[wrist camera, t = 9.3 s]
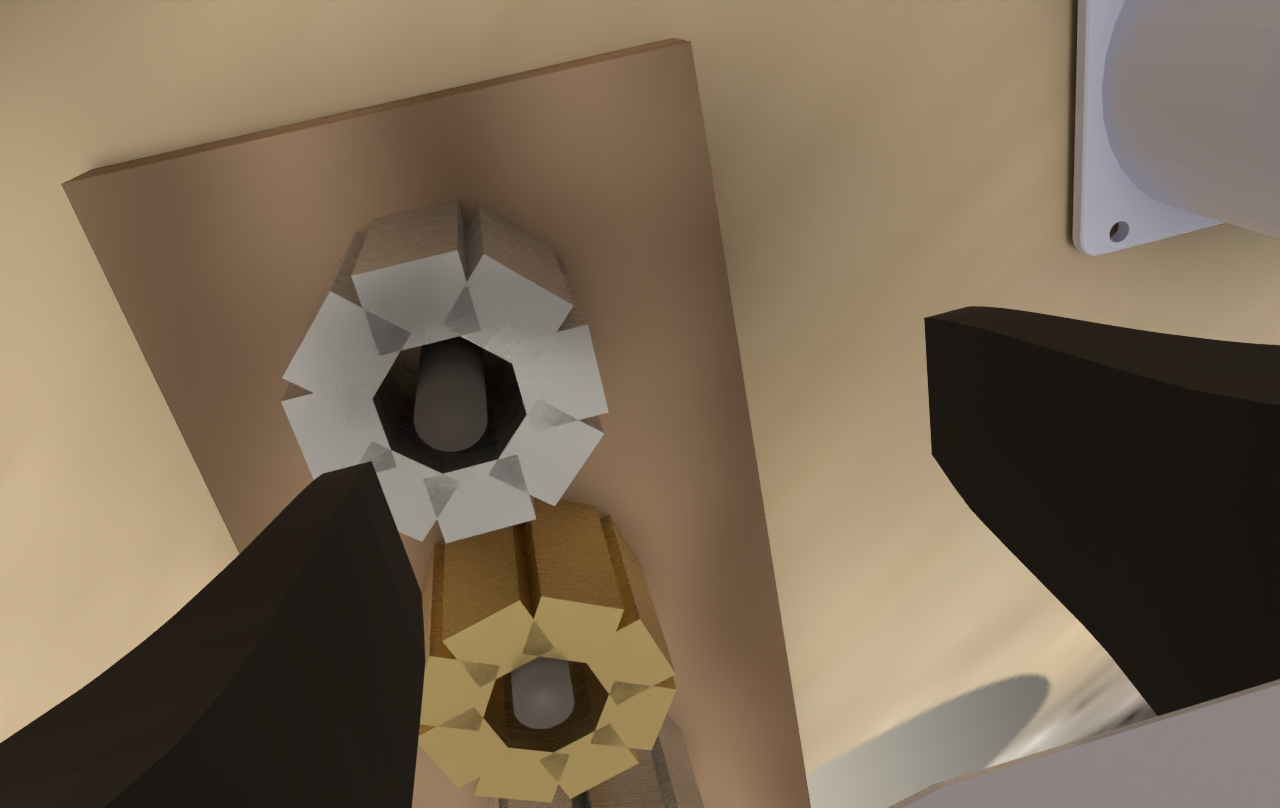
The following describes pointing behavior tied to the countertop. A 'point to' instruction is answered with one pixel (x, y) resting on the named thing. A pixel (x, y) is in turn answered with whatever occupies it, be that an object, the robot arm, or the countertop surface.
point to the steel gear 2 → (635, 781)
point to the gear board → (455, 368)
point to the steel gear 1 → (434, 311)
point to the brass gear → (541, 654)
